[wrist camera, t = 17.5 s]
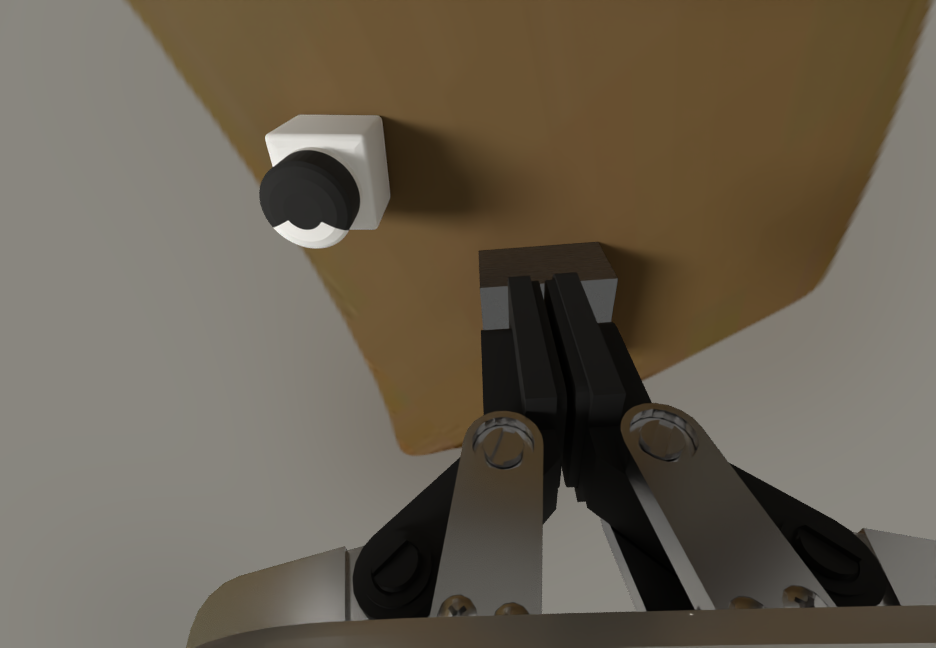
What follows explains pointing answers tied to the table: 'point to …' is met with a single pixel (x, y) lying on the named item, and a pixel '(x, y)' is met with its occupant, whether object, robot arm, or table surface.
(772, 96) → the table surface
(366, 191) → the medicine bottle
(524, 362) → the robot arm
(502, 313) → the socket
